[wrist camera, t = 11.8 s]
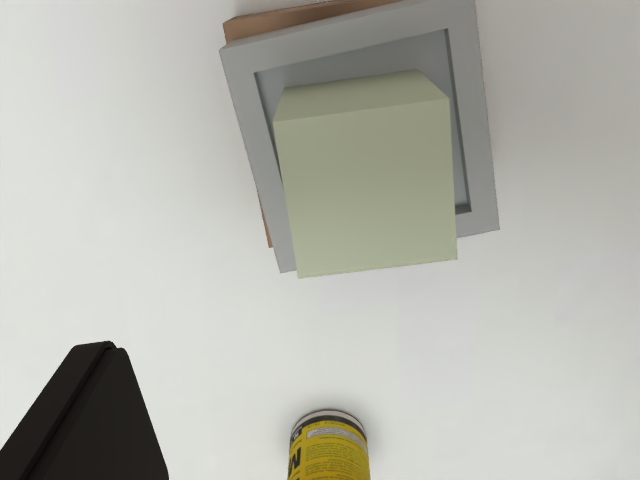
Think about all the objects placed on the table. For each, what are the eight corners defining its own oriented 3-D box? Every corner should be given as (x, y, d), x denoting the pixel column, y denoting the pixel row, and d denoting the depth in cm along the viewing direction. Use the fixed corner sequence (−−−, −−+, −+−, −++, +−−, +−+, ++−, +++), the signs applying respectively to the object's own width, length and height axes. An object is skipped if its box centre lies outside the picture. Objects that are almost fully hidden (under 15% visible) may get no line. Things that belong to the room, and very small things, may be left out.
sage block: (417, 69, 22) (449, 98, 17) (426, 196, 24) (457, 259, 19) (284, 87, 23) (272, 122, 17) (303, 211, 25) (298, 278, 19)
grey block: (452, -12, 24) (473, -10, 21) (479, 199, 27) (500, 229, 24) (231, 40, 25) (218, 50, 21) (284, 239, 28) (280, 273, 25)
